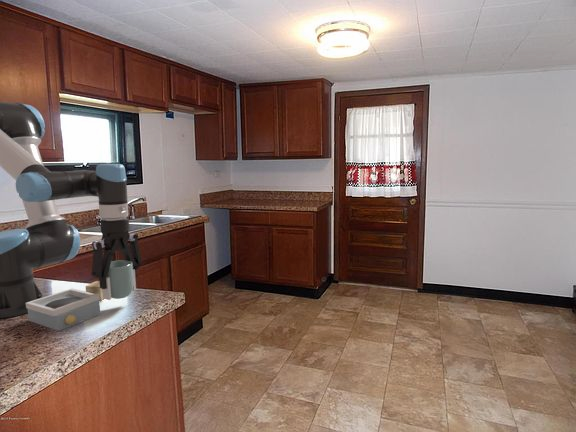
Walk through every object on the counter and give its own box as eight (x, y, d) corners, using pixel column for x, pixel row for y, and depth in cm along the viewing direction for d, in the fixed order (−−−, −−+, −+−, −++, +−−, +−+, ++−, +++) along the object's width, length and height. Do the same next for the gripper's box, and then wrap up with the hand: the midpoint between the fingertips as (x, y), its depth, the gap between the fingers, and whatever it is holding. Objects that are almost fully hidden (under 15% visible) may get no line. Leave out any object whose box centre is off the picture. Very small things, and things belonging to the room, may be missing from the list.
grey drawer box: (27, 321, 106) (24, 302, 105) (72, 305, 117) (70, 288, 117) (59, 332, 99) (56, 312, 98) (104, 314, 110) (102, 295, 109)
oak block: (87, 301, 121) (85, 286, 120) (97, 295, 126) (95, 281, 125) (101, 302, 120) (99, 286, 119) (111, 296, 125) (109, 281, 124)
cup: (123, 302, 110) (121, 268, 108) (99, 300, 111) (97, 266, 110) (139, 292, 117) (137, 261, 116) (116, 290, 119) (114, 259, 117)
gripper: (89, 225, 100) (96, 308, 103) (152, 214, 118) (156, 285, 121) (71, 222, 103) (79, 303, 107) (135, 212, 121) (139, 281, 125)
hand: (120, 293), depth 114 cm, fingers closed on cup, 8 cm apart
